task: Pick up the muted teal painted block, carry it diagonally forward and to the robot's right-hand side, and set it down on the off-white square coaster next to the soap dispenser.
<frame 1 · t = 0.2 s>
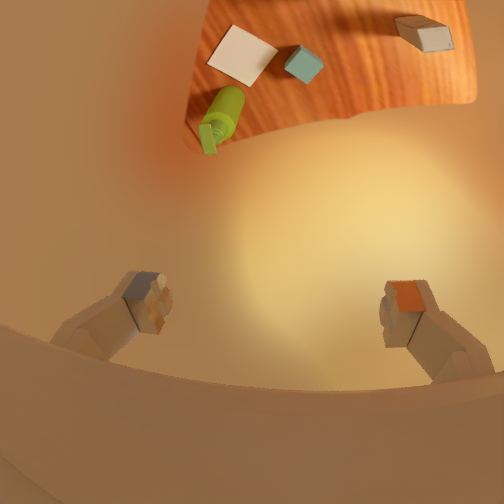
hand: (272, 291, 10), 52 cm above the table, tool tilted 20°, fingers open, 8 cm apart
soap dispenser: (230, 95, 53), on the table
coaster: (242, 55, 46), on the table
block: (303, 60, 45), on the table
skincare box: (409, 26, 34), on the table
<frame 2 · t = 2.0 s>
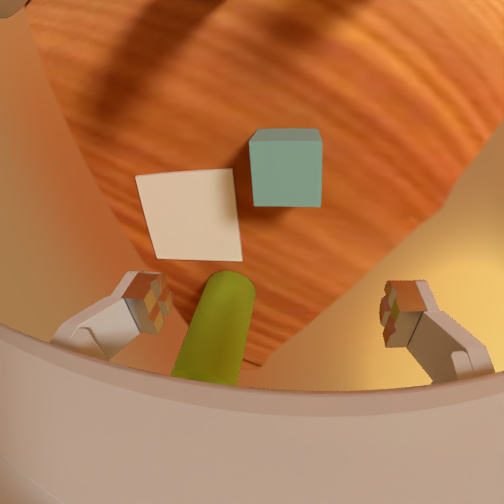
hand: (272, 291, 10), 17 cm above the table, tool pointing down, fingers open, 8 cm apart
soap dispenser: (228, 286, 34), on the table
coaster: (189, 217, 29), on the table
block: (288, 156, 24), on the table
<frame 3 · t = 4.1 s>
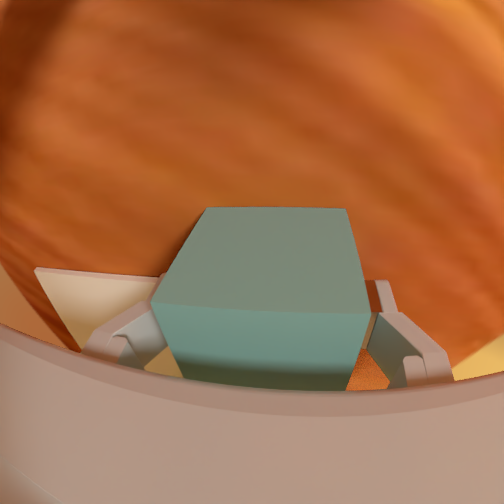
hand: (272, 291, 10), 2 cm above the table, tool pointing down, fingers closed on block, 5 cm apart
coaster: (119, 333, 17), on the table
block: (276, 264, 12), on the table, touching gripper
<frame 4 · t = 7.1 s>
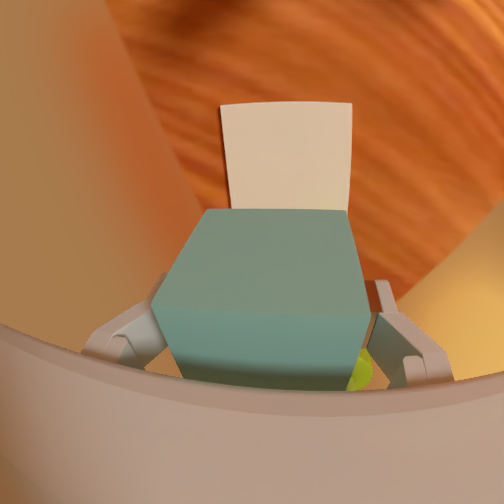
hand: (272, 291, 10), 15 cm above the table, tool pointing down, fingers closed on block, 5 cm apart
soap dispenser: (319, 254, 27), on the table
coaster: (288, 161, 22), on the table
block: (277, 265, 12), point 13 cm above the table, touching gripper
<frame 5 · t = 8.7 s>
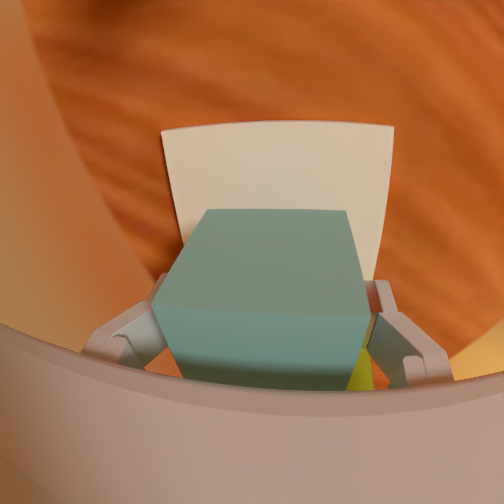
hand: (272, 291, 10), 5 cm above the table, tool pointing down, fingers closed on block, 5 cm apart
soap dispenser: (322, 341, 19), on the table
coaster: (279, 224, 14), on the table
block: (277, 265, 12), point 3 cm above the table, touching gripper
when the fingers open (4 cm above the table, at t = 9.8 s): block drops 2 cm, resting on coaster.
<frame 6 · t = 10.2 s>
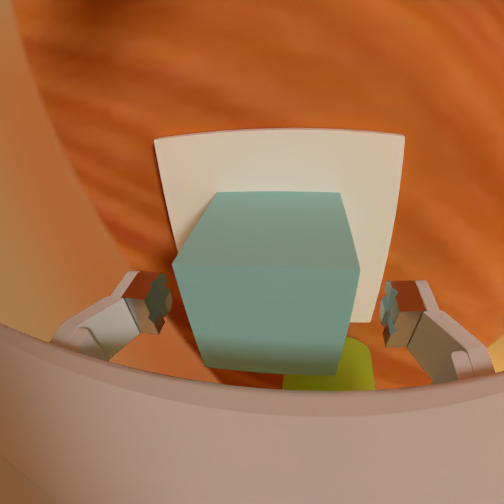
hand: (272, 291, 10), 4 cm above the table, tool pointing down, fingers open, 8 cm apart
soap dispenser: (324, 356, 18), on the table
coaster: (280, 238, 13), on the table
block: (279, 243, 13), resting on coaster
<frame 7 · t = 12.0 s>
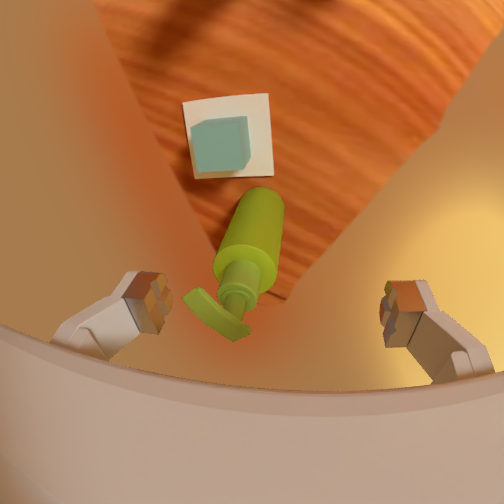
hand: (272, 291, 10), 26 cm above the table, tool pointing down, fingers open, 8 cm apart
soap dispenser: (259, 204, 37), on the table
coaster: (229, 137, 32), on the table
block: (228, 137, 32), resting on coaster
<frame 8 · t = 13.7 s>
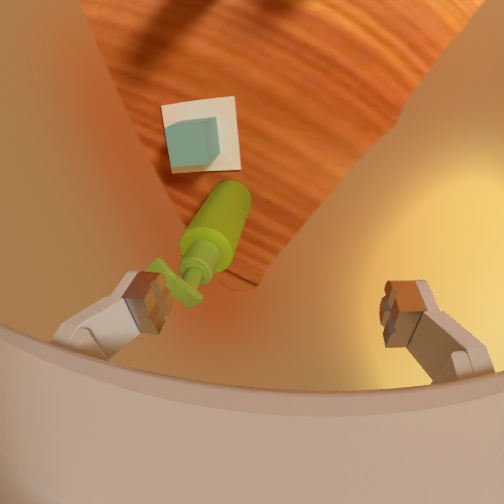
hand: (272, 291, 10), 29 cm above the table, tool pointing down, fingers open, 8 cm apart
soap dispenser: (229, 196, 41), on the table
coaster: (201, 135, 36), on the table
block: (200, 136, 35), resting on coaster
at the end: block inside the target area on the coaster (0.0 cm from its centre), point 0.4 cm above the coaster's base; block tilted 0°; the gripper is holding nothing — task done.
